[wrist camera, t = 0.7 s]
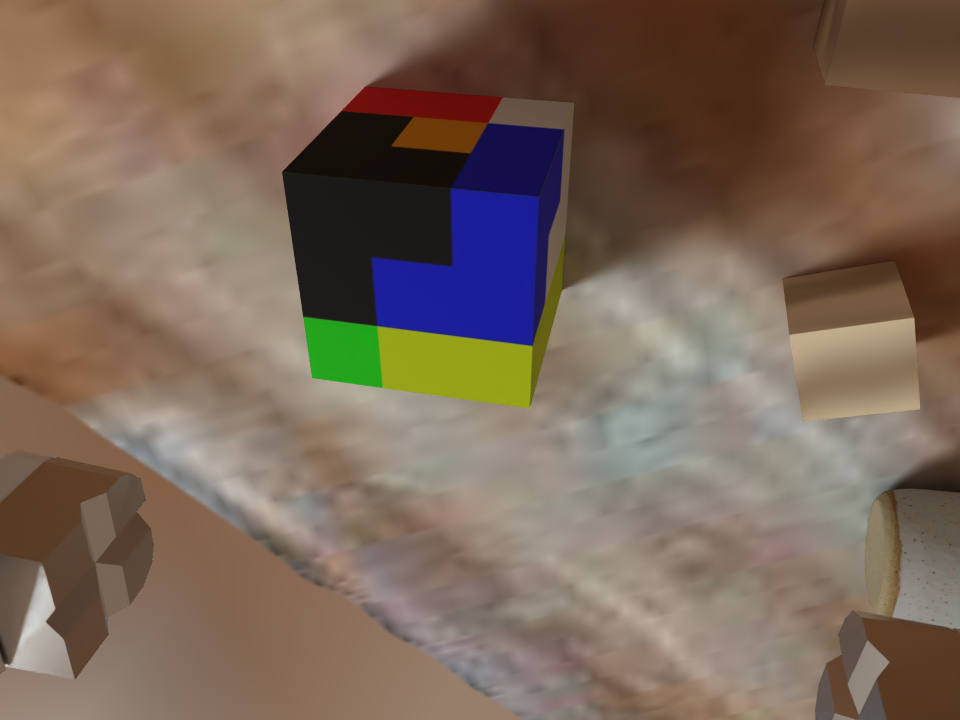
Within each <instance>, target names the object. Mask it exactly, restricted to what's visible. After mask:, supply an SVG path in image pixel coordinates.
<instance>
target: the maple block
mask: <svg viewBox="0 0 960 720" xmlns="http://www.w3.org/2000/svg"><path fill="white" fill-rule="evenodd" d="M783 286H784V294H785V302H786V310H787V319H788V327H789V335H790V341H791V348H792V354H793V360H794V367H795V373H796V380H797V386H798V392H799V399H800V405H801V412H802V418H803V421H811V420H821V419H830V418H840V417H850V416H859V415H869V414H879V413H888V412H898V411H907V410H917V409H920V399H919V384H918V368H917V353H916V338H915V322H914V316H913V313H912V310H911V307H910V304H909V301H908V298H907V295H906V292H905V289H904V286H903V283H902V280H901V277H900V274H899V271H898V268H897V265H896V262H895V261H889V262H883V263H877V264H870V265H864V266H858V267H852V268H846V269H839V270H833V271H827V272H821V273H814V274H808V275H802V276H796V277H789V278H783Z"/></svg>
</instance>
